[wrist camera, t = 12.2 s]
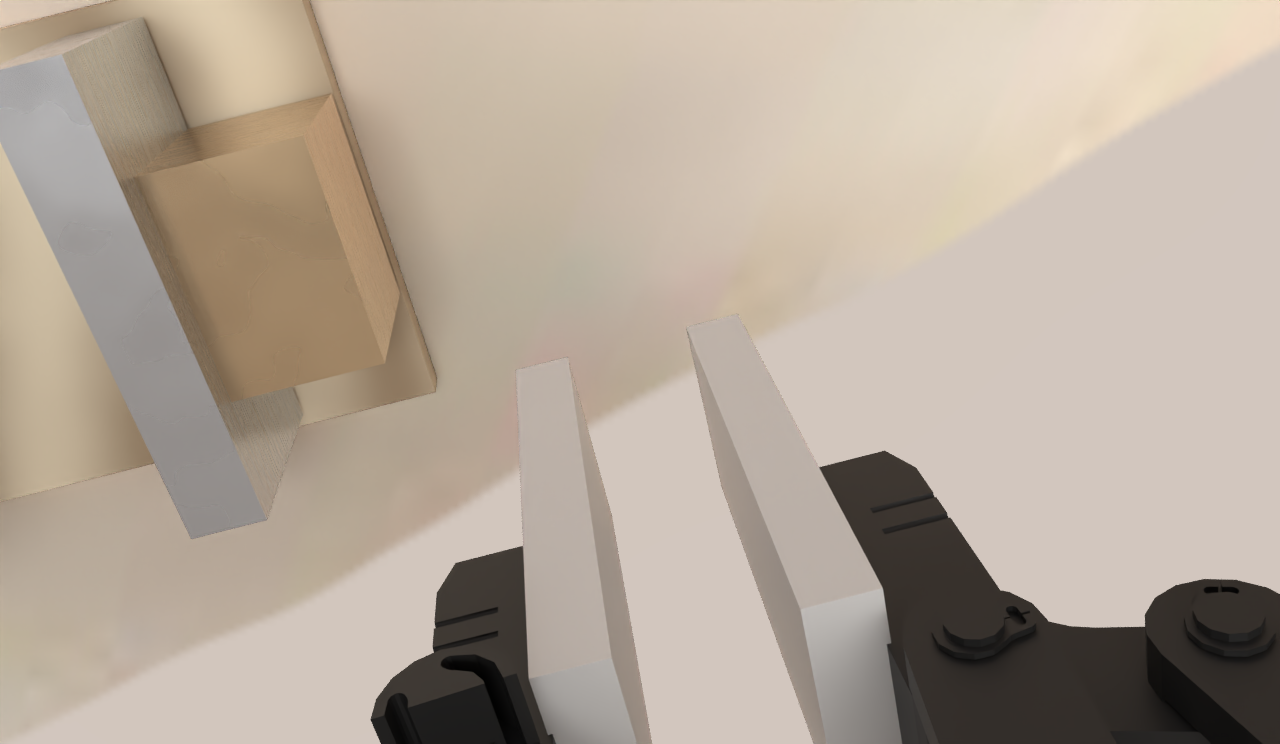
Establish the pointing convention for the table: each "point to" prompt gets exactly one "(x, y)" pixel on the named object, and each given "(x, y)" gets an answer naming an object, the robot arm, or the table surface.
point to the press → (43, 301)
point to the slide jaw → (200, 257)
